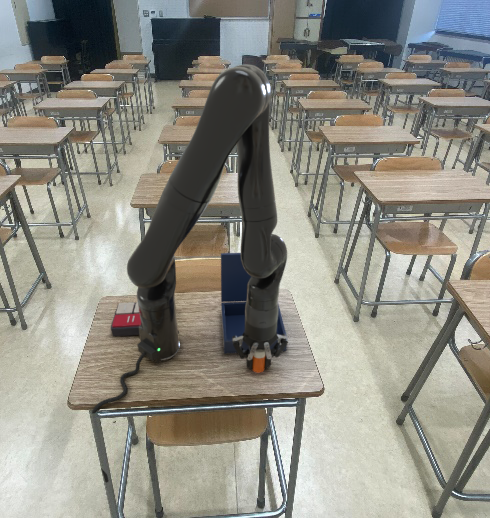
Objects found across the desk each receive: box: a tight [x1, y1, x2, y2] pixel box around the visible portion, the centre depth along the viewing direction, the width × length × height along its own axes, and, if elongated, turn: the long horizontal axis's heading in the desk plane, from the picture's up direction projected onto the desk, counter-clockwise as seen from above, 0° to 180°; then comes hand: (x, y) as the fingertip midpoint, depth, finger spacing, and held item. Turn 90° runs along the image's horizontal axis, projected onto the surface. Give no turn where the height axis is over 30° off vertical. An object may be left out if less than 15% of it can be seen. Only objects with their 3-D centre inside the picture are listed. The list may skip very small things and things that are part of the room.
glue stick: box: [251, 349, 266, 374], centre depth 99 cm, size 4×4×8 cm
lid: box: [220, 252, 281, 303], centre depth 113 cm, size 16×17×5 cm
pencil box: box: [220, 301, 289, 354], centre depth 111 cm, size 16×17×5 cm
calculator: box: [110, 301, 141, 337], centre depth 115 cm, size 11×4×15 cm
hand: (258, 366), depth 101 cm, fingers closed on glue stick, 3 cm apart
